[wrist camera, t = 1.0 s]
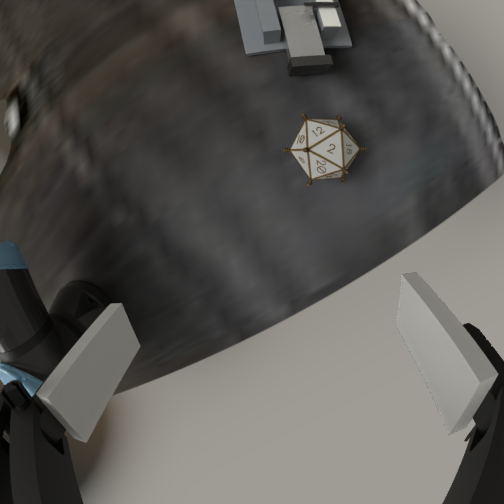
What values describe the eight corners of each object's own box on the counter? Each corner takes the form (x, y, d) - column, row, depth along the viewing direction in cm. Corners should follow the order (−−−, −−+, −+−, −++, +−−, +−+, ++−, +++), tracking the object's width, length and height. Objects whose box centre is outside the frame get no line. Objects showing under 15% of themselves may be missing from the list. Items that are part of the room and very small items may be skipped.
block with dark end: (289, 76, 29) (292, 65, 24) (275, 17, 26) (275, -1, 21) (344, 73, 28) (355, 62, 23) (328, 15, 25) (336, -3, 20)
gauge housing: (246, 56, 29) (242, 40, 24) (232, -9, 25) (226, -30, 19) (350, 48, 27) (363, 33, 22) (329, -17, 23) (337, -37, 18)
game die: (326, 156, 37) (365, 201, 31) (270, 159, 35) (303, 210, 29) (340, 100, 30) (390, 138, 24) (279, 97, 28) (323, 136, 22)
